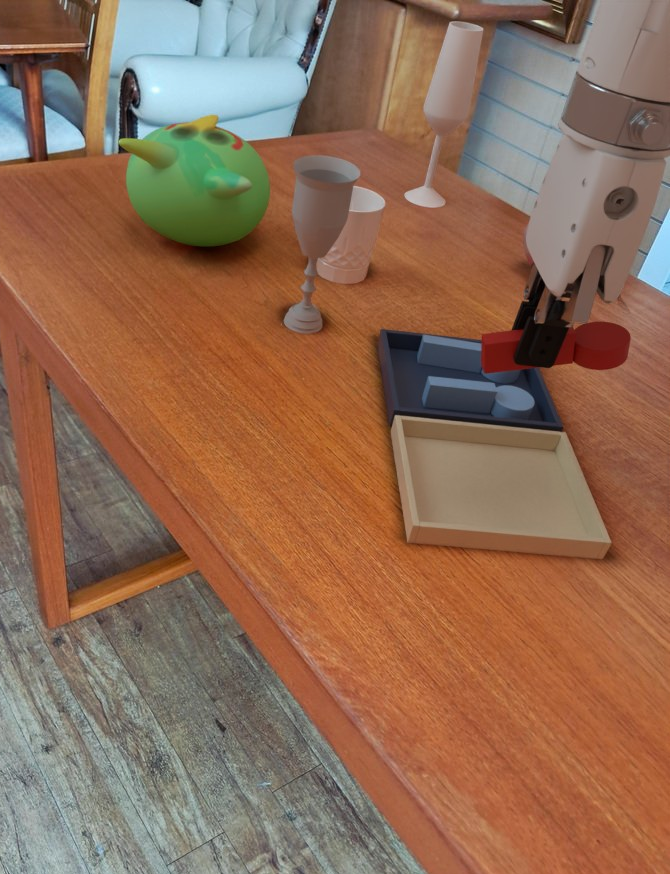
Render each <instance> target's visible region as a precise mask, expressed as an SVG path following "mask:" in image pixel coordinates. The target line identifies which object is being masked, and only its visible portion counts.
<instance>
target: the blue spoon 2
mask: <svg viewBox="0 0 670 874" xmlns="http://www.w3.org/2000/svg"><path fill="white" fill-rule="evenodd" d="M422 401H423V406H424V407H428V408H438V409H448V410H458V411H468V412H478V413H488V414H489V413H491V414H492V415H493V416H494V417H502V418H512V419H522V420H528V419H529V417H530V414H531V412H532V409H533V407H534V404H535V402H534V399H533V397H532V396H531V395H530V394H529V393H528V392H526V391H525V390H523V389H521V388H518V387H515V386H509V385H503V386H499V387H497V388H496V386H495V383H490V382H480V381H471V380H461V379H451V378H442V377H432V376H428V379H427V382H426V386H425V389H424V392H423V396H422Z"/></svg>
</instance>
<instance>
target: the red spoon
mask: <svg viewBox="0 0 670 874" xmlns="http://www.w3.org/2000/svg"><path fill="white" fill-rule="evenodd" d="M523 330H524V329H521V330H512V329H511V330H503V331H502V330H501V331H496V332H487V333H482V334H481V340H482V342H481V365H482V368H483V371H484V374H487V373H496V372H504V371H513V370H521V369H530V368H538V367H533V366H524V365H517V364H516V363H515V362H514V359H513V357H514V354H515V351H516V349H517V346H518V343H519V341H520V338H521V335H522V333H523ZM631 338H632V336H631V334H630V331H629V330H628V329H627V328H626V327H624V326H622V325H620V324H617V323H614V322H611V321H602V320H601V321H591V322H589V321H588V322H587V324H579V326H577V327H575V328H574V325H573V326H572V327H571V328H569V330H568V332H567V334H566V337H565V339H564V342H563V344H562V346H561V349H560V351H559V354H558V356H557V358H556V361H555V363H554V365H553V366H552V367H555V366H564V365H571V364H575V365H577V366H579V367H581V368H584V369H587V370H594V371H606V370H613V369H616V368H618V367H620V366H622V365H623V364H624V363H625V362H626V361H627V360H628V357H629V356H628V355H629V351H630V344H631Z"/></svg>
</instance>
